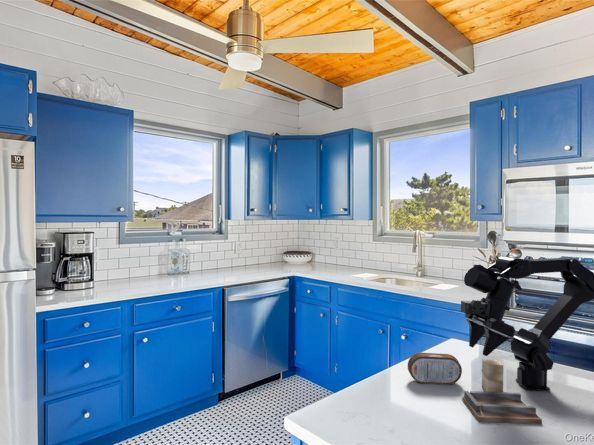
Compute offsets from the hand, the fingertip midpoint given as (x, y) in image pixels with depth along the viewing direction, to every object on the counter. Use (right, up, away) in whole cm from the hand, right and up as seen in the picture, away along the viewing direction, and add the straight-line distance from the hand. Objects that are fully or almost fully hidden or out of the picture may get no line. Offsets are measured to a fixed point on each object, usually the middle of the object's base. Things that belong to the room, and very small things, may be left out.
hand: (477, 350), depth 108 cm
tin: (-10, -11, +5) cm, 16 cm away
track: (0, -11, -12) cm, 16 cm away
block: (+4, -11, 0) cm, 12 cm away
